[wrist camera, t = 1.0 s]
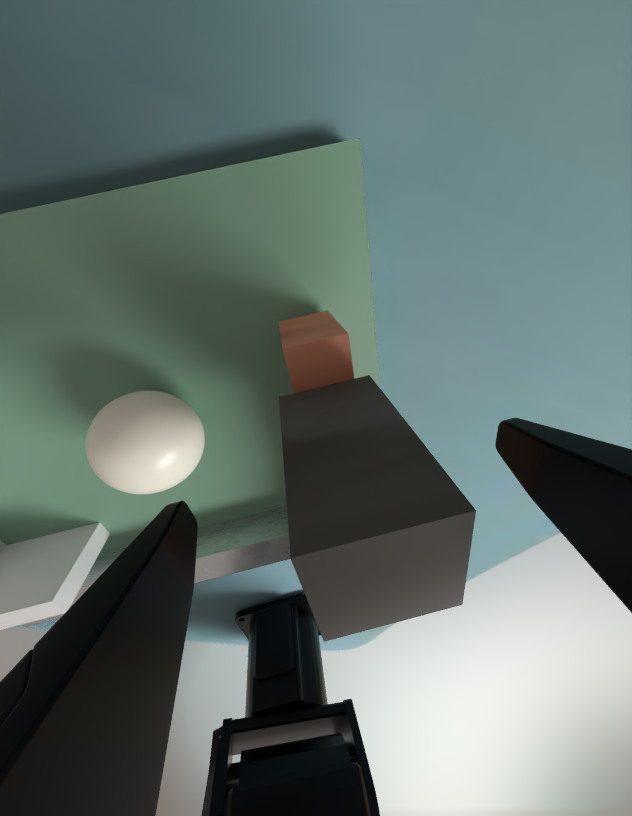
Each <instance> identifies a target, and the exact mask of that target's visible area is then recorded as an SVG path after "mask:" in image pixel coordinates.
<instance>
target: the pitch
mask: <svg viewBox="0 0 632 816" xmlns="http://www.w3.org/2000/svg"><path fill="white" fill-rule="evenodd" d="M326 310H327V311H328V312H329V313H330V314H331V315H332V316H333V317H334V318H335V319H336V320H337V321H338V323H339V324H340V325H341V326H342V327H343V328H344V329H345V330H346V331H347V332H348V334H349V341H350V349H351V356H352V364H353V372H354V379H355V378H359V377H364V376H368V375H370V376H371V378H372V379H373V380H374V382H375V383H376V384H377V385H378V387H379V388H380V376H379V363H378V351H377V339H376V327H375V315H374V303H373V291H372V279H371V267H370V255H369V242H368V230H367V218H366V206H365V194H364V182H363V170H362V158H361V146H360V138H357V139H352V140H348V141H343V142H338V143H333V144H329V145H324V146H319V147H315V148H310V149H305V150H300V151H296V152H291V153H286V154H281V155H277V156H272V157H267V158H263V159H258V160H253V161H248V162H244V163H239V164H234V165H229V166H225V167H220V168H215V169H211V170H206V171H201V172H196V173H192V174H187V175H182V176H177V177H173V178H168V179H163V180H159V181H154V182H149V183H144V184H140V185H135V186H130V187H125V188H121V189H116V190H111V191H107V192H102V193H97V194H92V195H88V196H83V197H78V198H73V199H69V200H64V201H59V202H55V203H50V204H45V205H40V206H36V207H31V208H26V209H21V210H17V211H12V212H7V213H3V214H0V540H1V541H2V542H3V543H4V544H6V545H10V544H14V543H18V542H22V541H26V540H30V539H34V538H38V537H42V536H46V535H50V534H54V533H58V532H63V531H67V530H71V529H75V528H79V527H83V526H87V525H91V524H95V523H99V522H100V523H101V524H102V525H103V526H104V527H105V529H106V530H107V531H108V532H109V533H110V535H109V537H108V538H107V540H106V542H105V544H104V546H103V548H102V549H101V551H100V552H104V551H108V550H112V549H116V548H120V547H124V546H128V545H129V544H130V543H131V542H132V541H133V540H134V539H135V538H136V537H137V536H138V535H139V534H140V533H141V532H142V531H143V530H144V528H145V527H146V526H147V525H148V524H149V523H150V522H151V521H152V520H153V519H154V518H155V517H156V516H157V515H158V514H159V512H160V511H161V510H162V509H163V508H164V507H165V506H166V505H167V504H170V503H173V502H177V501H185V502H186V503H187V505H188V507H189V508H190V510H191V511H192V513H193V515H194V516H195V518H196V520H197V524H198V528H200V527H204V526H208V525H212V524H216V523H220V522H224V521H228V520H232V519H236V518H240V517H244V516H248V515H252V514H256V513H260V512H264V511H268V510H272V509H276V508H280V507H284V506H287V502H286V489H285V475H284V462H283V448H282V435H281V421H280V408H279V397H280V396H284V395H288V394H292V393H294V391H293V388H292V384H291V380H290V376H289V372H288V368H287V364H286V361H285V357H284V353H283V349H282V342H281V335H280V329H279V321H283V320H287V319H292V318H296V317H300V316H305V315H309V314H313V313H318V312H322V311H326ZM380 389H381V388H380ZM138 391H160V392H165V393H168V394H171V395H174V396H176V397H178V398H180V399H181V400H183V401H185V402H186V403H187V404H188V405H190V406H191V408H192V409H193V410H194V411H195V412H196V414H197V415H198V417H199V418H200V420H201V423H202V425H203V429H204V435H205V444H204V450H203V454H202V457H201V459H200V461H199V463H198V465H197V466H196V467H195V469H194V470H193V472H192V473H191V474H190V475H189V476H188V477H187V478H186V479H184V480H183V481H182V482H180V483H179V484H177V485H175V486H174V487H172V488H169V489H167V490H165V491H161V492H158V493H152V494H131V493H126V492H122V491H119V490H117V489H115V488H112V487H111V486H109V485H107V484H106V483H104V482H103V481H102V480H101V479H100V478H99V477H98V476H97V475H96V474H95V473H94V471H93V470H92V468H91V466H90V464H89V462H88V459H87V456H86V449H85V442H86V436H87V432H88V429H89V427H90V425H91V423H92V421H93V419H94V418H95V416H96V415H97V414H98V413H99V411H100V410H101V409H102V408H104V407H105V406H106V405H107V404H108V403H110V402H111V401H113V400H115V399H117V398H119V397H121V396H123V395H126V394H129V393H133V392H138Z"/></svg>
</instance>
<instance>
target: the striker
mask: <svg viewBox="0 0 632 816" xmlns="http://www.w3.org/2000/svg"><path fill="white" fill-rule="evenodd" d="M279 329H280V335H281V342H282V349H283V353H284V357H285V361H286V364H287V368H288V372H289V376H290V380H291V384H292V388H293V391H294V393H292V394H288V395H284V396H280V397H279V408H280V421H281V435H282V448H283V462H284V475H285V489H286V502H287V516H288V529H289V543H290V556H291V560H292V563H293V565H294V568H295V570H296V573H297V575H298V578H299V580H300V583H301V585H302V588H303V590H304V593H305V595H306V598H307V600H308V603H309V605H310V608H311V610H312V613H313V615H314V618H315V620H316V623H317V625H318V628H319V630H320V633H321V635H322V638H323V640H324V641H328V640H332V639H336V638H339V637H343V636H347V635H350V634H354V633H358V632H362V631H365V630H369V629H373V628H377V627H380V626H384V625H388V624H392V623H395V622H399V621H403V620H406V619H410V618H413V617H417V616H421V615H425V614H429V613H432V612H436V611H440V610H443V609H447V608H451V607H455V606H459V605H462V603H463V595H464V589H465V582H466V575H467V569H468V562H469V555H470V548H471V541H472V534H473V527H474V520H475V513H476V510H475V509H474V507H473V506H472V505H471V504H470V502H469V501H468V500H467V499H466V497H465V496H464V495H463V493H462V492H461V491H460V490H459V488H458V487H457V486H456V485H455V483H454V482H453V481H452V479H451V478H450V477H449V476H448V474H447V473H446V472H445V471H444V469H443V468H442V467H441V466H440V464H439V463H438V462H437V460H436V459H435V458H434V457H433V455H432V454H431V453H430V452H429V450H428V449H427V448H426V446H425V445H424V444H423V443H422V441H421V440H420V439H419V438H418V436H417V435H416V434H415V432H414V431H413V430H412V429H411V427H410V426H409V425H408V424H407V422H406V421H405V420H404V418H403V417H402V416H401V415H400V413H399V412H398V411H397V410H396V408H395V407H394V406H393V404H392V403H391V402H390V401H389V399H388V398H387V397H386V396H385V394H384V393H383V392H382V390H381V389H380V388H379V387H378V385H377V384H376V383H375V382H374V380H373V379H372V378H371V376H370V375H368V376H364V377H359V378H355V379H354V372H353V364H352V356H351V349H350V341H349V334H348V332H347V331H346V330H345V329H344V328H343V327H342V326H341V325H340V324H339V323H338V321H337V320H336V319H335V318H334V317H333V316H332V315H331V314H330V313H329V312H328V311H327V310H326V311H322V312H318V313H313V314H309V315H305V316H300V317H296V318H292V319H287V320H283V321H279Z"/></svg>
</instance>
